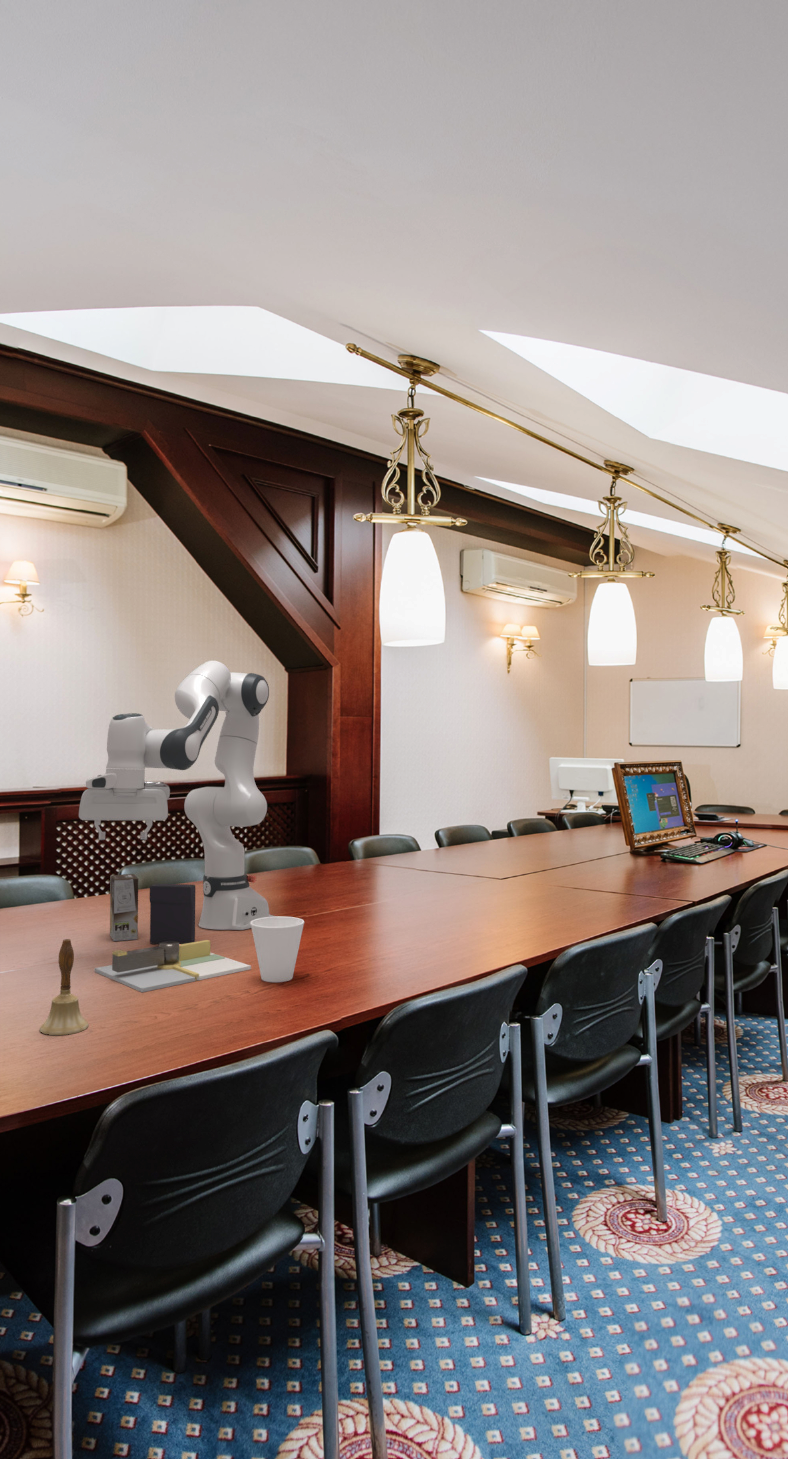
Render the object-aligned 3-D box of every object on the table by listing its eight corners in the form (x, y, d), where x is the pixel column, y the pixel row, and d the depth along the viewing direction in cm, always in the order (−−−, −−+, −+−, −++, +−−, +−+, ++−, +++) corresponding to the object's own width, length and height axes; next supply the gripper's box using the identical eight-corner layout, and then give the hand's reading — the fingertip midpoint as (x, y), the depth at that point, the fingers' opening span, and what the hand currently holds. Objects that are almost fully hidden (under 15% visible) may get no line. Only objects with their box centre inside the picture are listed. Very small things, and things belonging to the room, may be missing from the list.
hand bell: (94, 1020, 161) (95, 934, 161) (80, 1035, 153) (81, 945, 153) (49, 1021, 161) (50, 934, 161) (32, 1036, 152) (33, 945, 153)
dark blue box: (196, 942, 225) (196, 884, 225) (190, 945, 220) (191, 886, 221) (155, 940, 226) (155, 883, 226) (148, 944, 221) (149, 885, 222)
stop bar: (172, 957, 200) (173, 940, 200) (182, 961, 197) (182, 943, 197) (110, 969, 189) (110, 950, 189) (119, 973, 186) (120, 954, 186)
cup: (294, 987, 184) (294, 928, 184) (241, 983, 186) (241, 925, 186) (310, 972, 195) (311, 917, 195) (260, 969, 198) (261, 915, 198)
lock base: (199, 952, 214) (199, 934, 214) (250, 969, 198) (251, 949, 198) (94, 971, 195) (94, 952, 195) (141, 992, 179) (142, 971, 179)
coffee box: (138, 939, 227) (139, 878, 227) (113, 942, 224) (113, 879, 224) (133, 932, 235) (134, 873, 235) (108, 934, 232) (109, 874, 233)
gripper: (169, 781, 212) (167, 838, 211) (80, 780, 205) (78, 838, 205) (171, 782, 206) (169, 840, 205) (79, 780, 199) (77, 840, 199)
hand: (122, 839), depth 205 cm, fingers open, 8 cm apart
